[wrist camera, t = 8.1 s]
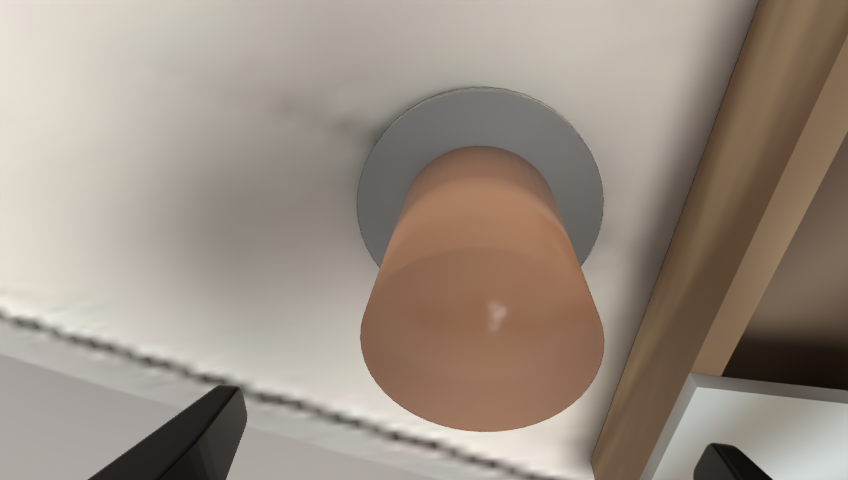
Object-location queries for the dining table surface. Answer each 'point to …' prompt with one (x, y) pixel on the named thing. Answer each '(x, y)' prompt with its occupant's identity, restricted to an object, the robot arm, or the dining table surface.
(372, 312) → the tan cylinder
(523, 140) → the saucer
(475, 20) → the dining table surface
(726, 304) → the box
